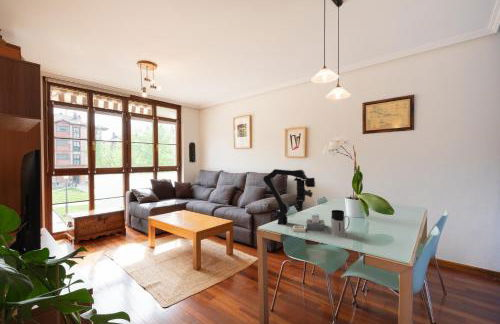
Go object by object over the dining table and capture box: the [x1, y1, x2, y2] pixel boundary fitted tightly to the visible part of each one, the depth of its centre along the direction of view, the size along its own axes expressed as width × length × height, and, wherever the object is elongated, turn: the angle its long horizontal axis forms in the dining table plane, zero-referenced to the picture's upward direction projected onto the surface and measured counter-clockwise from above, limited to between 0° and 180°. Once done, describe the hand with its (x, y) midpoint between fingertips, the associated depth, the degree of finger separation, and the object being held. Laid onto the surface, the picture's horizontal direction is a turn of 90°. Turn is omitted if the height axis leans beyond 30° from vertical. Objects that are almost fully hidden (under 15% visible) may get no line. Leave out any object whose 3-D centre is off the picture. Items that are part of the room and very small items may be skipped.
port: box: [306, 218, 326, 231], centre depth 166 cm, size 12×12×5 cm
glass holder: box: [330, 209, 351, 238], centre depth 148 cm, size 9×14×15 cm, turn 20°
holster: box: [292, 225, 306, 233], centre depth 161 cm, size 8×7×2 cm
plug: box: [311, 213, 320, 223], centre depth 166 cm, size 5×4×9 cm
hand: (301, 207), depth 173 cm, fingers open, 9 cm apart
